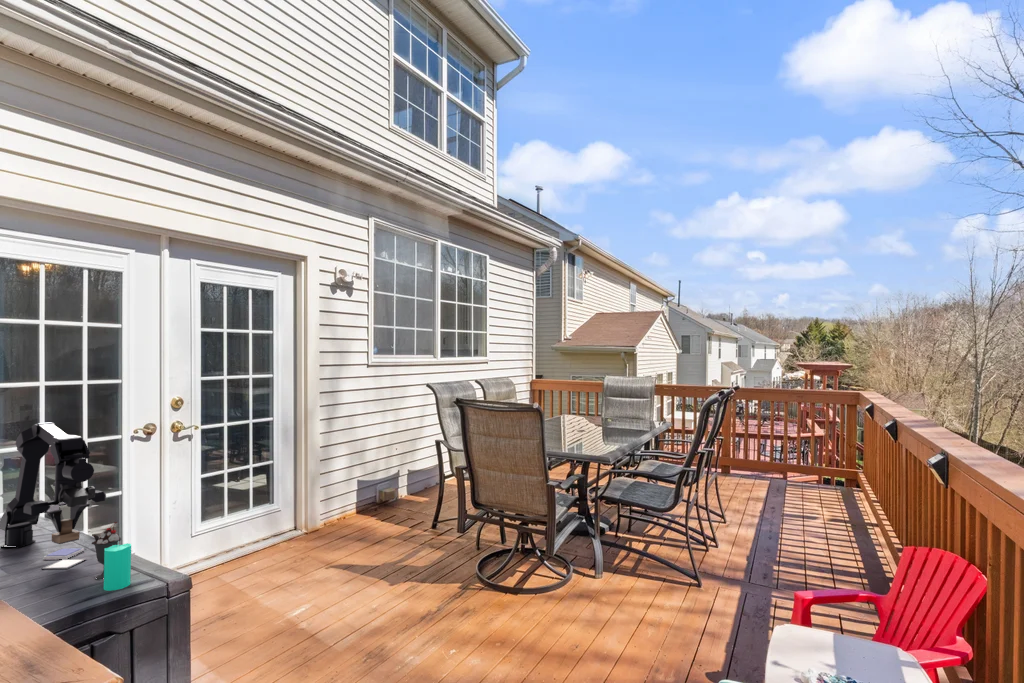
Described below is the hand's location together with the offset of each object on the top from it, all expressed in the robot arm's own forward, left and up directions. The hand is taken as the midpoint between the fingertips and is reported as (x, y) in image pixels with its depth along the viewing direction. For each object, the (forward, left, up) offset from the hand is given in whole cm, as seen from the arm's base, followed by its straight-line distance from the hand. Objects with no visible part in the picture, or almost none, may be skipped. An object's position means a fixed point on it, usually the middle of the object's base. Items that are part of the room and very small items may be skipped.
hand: (65, 530), depth 161 cm
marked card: (0, 0, -10) cm, 10 cm away
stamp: (0, 0, -3) cm, 3 cm away
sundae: (+20, -10, -10) cm, 24 cm away
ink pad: (-6, +8, -10) cm, 14 cm away
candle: (+28, -17, -10) cm, 34 cm away
